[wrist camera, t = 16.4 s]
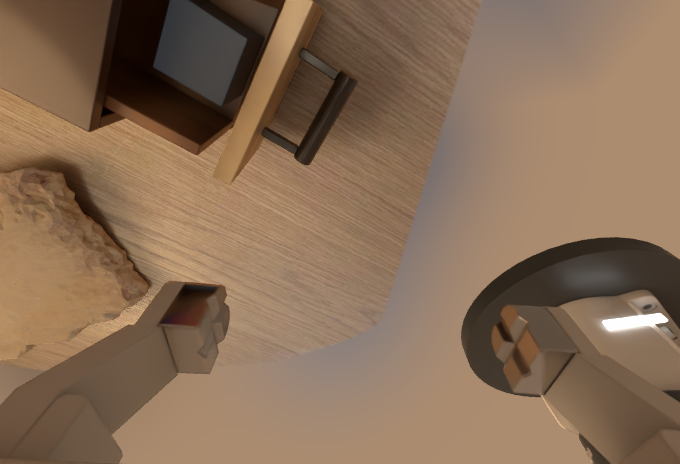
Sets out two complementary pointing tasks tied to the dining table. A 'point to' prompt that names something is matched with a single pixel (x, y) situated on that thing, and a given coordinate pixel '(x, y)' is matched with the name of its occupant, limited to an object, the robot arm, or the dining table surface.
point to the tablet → (55, 265)
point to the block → (207, 50)
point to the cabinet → (60, 56)
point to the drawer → (213, 120)
